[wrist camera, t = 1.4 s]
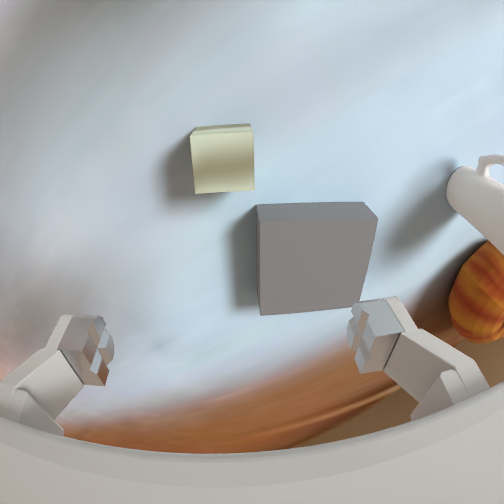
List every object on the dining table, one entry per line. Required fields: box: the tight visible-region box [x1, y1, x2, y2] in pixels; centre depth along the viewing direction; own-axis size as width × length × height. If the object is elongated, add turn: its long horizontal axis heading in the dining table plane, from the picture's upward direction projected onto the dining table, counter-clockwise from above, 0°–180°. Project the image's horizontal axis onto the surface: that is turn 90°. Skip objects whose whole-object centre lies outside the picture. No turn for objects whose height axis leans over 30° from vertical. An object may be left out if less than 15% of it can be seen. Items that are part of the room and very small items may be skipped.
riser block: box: [256, 202, 378, 316], centre depth 33 cm, size 12×12×4 cm
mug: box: [446, 155, 504, 255], centre depth 25 cm, size 10×7×12 cm, turn 7°
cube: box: [190, 124, 255, 194], centre depth 25 cm, size 5×5×5 cm
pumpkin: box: [448, 240, 504, 344], centre depth 34 cm, size 19×19×15 cm
